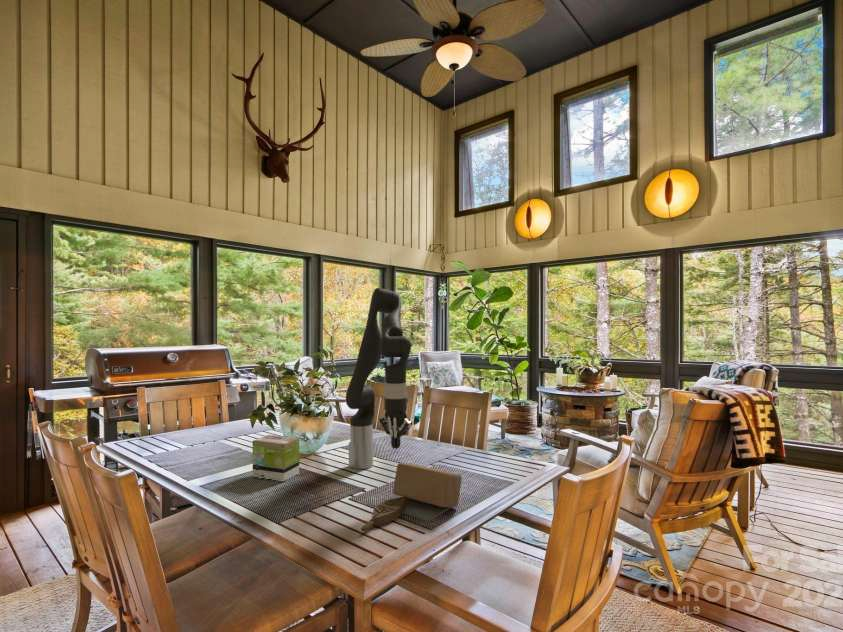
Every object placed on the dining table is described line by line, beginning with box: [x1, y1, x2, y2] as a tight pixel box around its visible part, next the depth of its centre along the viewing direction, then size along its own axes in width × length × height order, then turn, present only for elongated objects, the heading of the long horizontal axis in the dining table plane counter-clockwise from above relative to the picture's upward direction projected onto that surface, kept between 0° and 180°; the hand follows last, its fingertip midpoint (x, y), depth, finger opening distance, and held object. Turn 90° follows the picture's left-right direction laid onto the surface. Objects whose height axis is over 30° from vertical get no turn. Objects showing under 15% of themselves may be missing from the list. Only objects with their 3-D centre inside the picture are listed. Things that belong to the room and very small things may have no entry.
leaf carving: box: [360, 497, 405, 532], centre depth 136 cm, size 7×22×3 cm, turn 153°
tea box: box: [252, 434, 300, 481], centre depth 176 cm, size 15×10×15 cm
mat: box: [382, 495, 453, 522], centre depth 146 cm, size 20×14×1 cm
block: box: [392, 462, 463, 508], centre depth 147 cm, size 10×10×20 cm
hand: (395, 447), depth 151 cm, fingers closed
